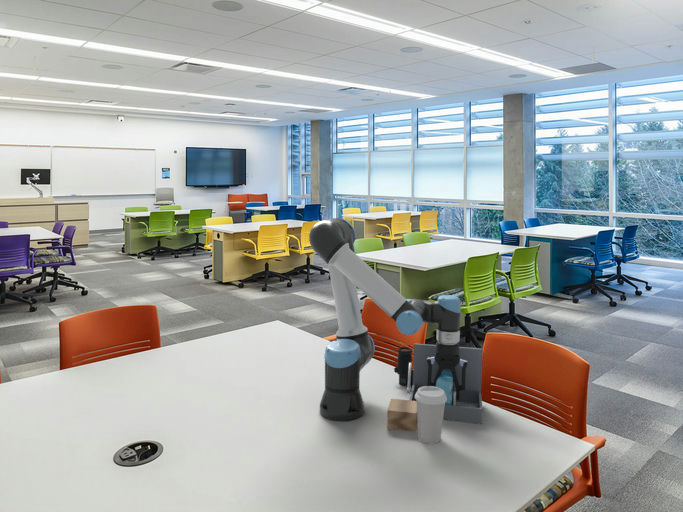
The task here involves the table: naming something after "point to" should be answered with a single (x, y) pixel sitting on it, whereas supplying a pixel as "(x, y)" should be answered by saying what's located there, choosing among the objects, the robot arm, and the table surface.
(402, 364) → the scope
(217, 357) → the table surface
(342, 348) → the robot arm
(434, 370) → the case
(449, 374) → the light blue box
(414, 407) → the stand
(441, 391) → the coffee cup
